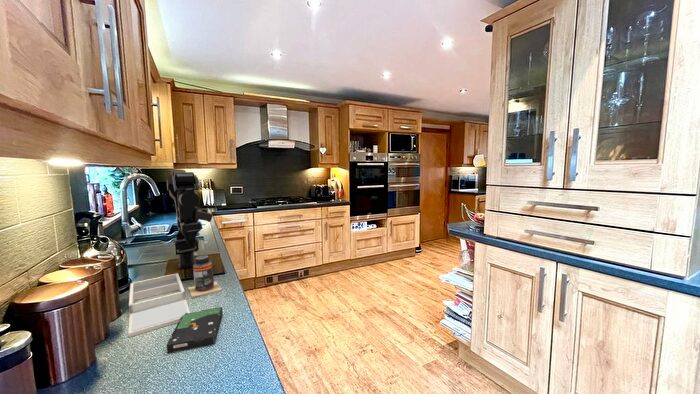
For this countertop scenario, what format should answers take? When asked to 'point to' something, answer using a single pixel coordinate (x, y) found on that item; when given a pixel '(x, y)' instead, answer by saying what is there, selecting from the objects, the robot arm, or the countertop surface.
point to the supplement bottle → (203, 273)
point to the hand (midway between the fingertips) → (190, 244)
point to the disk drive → (195, 330)
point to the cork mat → (196, 293)
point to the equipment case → (156, 304)
